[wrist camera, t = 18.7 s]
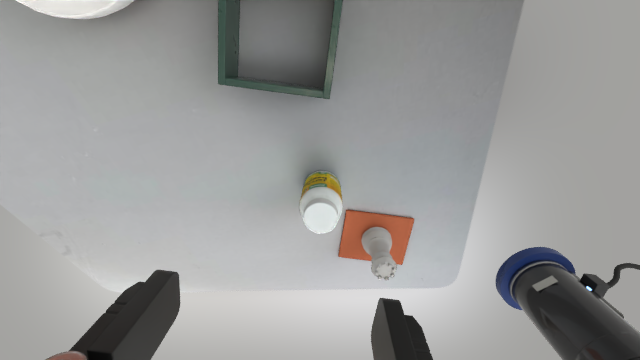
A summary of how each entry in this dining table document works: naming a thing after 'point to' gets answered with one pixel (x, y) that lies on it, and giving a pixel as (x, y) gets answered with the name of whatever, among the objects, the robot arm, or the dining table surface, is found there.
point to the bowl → (76, 7)
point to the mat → (363, 221)
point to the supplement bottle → (321, 202)
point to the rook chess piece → (379, 252)
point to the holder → (229, 77)
